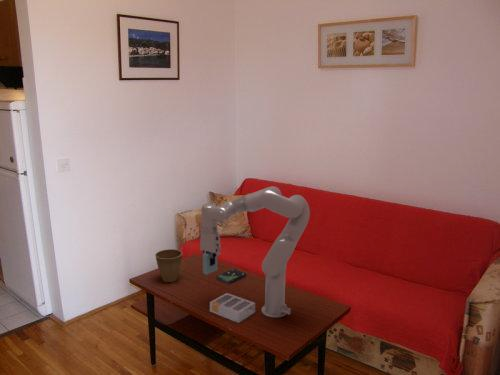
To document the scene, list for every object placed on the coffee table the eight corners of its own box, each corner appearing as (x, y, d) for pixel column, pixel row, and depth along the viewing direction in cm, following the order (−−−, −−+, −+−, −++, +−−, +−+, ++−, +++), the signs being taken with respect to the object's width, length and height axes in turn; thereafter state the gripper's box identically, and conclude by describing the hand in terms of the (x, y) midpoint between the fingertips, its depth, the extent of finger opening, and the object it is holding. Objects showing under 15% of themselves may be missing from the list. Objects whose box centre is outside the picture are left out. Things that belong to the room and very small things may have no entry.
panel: (217, 269, 220) (217, 251, 218) (206, 274, 213) (206, 255, 211) (213, 268, 221) (213, 250, 219) (203, 273, 215) (202, 254, 213)
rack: (255, 312, 211) (255, 302, 210) (238, 323, 200) (238, 312, 199) (226, 301, 221) (226, 292, 220) (209, 311, 211) (209, 301, 210)
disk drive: (233, 273, 260) (216, 280, 248) (233, 268, 259) (216, 275, 248) (246, 277, 253) (229, 285, 242) (246, 273, 252) (229, 280, 241)
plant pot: (174, 272, 257) (174, 247, 254) (187, 281, 246) (187, 254, 242) (151, 279, 248) (150, 252, 244) (163, 288, 236) (163, 260, 233)
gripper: (227, 230, 211) (227, 265, 215) (202, 224, 220) (203, 258, 224) (216, 233, 205) (217, 270, 209) (192, 227, 215) (193, 262, 218)
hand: (210, 263), depth 216 cm, fingers closed on panel, 2 cm apart
